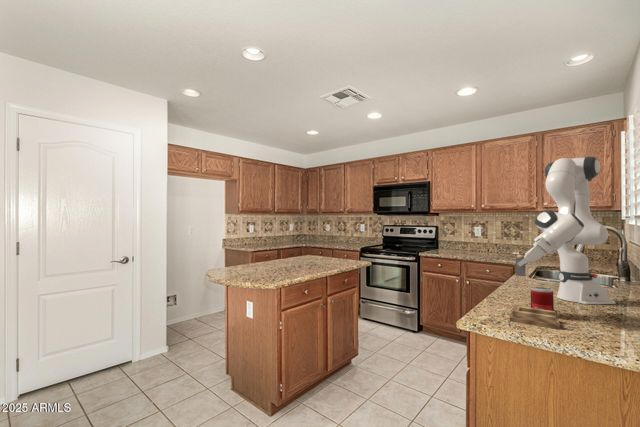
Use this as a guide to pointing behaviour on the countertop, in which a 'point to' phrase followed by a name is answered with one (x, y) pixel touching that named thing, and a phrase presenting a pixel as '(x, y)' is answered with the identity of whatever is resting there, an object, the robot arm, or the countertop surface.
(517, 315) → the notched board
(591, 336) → the countertop surface
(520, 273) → the block with orange ball
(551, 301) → the canned food
